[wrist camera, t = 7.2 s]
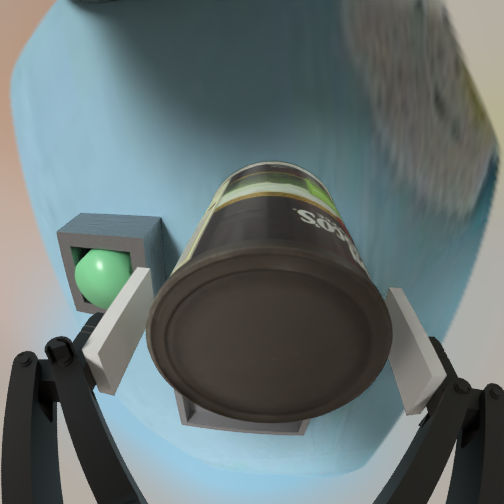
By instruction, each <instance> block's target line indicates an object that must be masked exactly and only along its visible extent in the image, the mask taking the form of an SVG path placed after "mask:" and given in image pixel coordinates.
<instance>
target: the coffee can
mask: <svg viewBox="0 0 504 504" xmlns="http://www.w3.org/2000/svg"><path fill="white" fill-rule="evenodd" d="M146 340H147V346H148V350H149V353H150V355H151V358H152V360H153V362H154V364H155V366H156V368H157V369H158V371H159V372H160V374H161V375H162V377H163V378H164V379H165V380H166V381H167V382H168V383H169V384H170V385H171V386H172V387H173V388H174V389H175V390H176V391H177V392H178V393H179V394H181V395H182V396H183V397H184V398H186V399H187V400H189V401H191V402H192V403H194V404H196V405H198V406H200V407H202V408H204V409H206V410H208V411H210V412H213V413H215V414H218V415H221V416H224V417H228V418H231V419H236V420H241V421H246V422H254V423H288V422H296V421H301V420H306V419H311V418H314V417H318V416H321V415H324V414H326V413H329V412H331V411H333V410H336V409H338V408H340V407H342V406H343V405H345V404H347V403H349V402H350V401H352V400H353V399H355V398H356V397H358V396H359V395H360V394H361V393H363V392H364V391H365V390H366V389H367V388H368V387H369V386H370V385H371V384H372V382H374V381H375V379H376V378H377V376H378V375H379V374H380V372H381V371H382V369H383V367H384V365H385V363H386V361H387V359H388V356H389V353H390V350H391V345H392V340H393V329H392V321H391V318H390V315H389V311H388V308H387V306H386V304H385V302H384V300H383V298H382V296H381V294H380V293H379V291H378V289H377V288H376V286H375V285H374V284H373V283H372V281H371V279H370V276H369V273H368V271H367V270H366V268H365V266H364V263H363V261H362V259H361V257H360V255H359V253H358V251H357V249H356V246H355V244H354V242H353V240H352V238H351V236H350V234H349V232H348V231H347V229H346V227H345V225H344V223H343V221H342V219H341V217H340V215H339V213H338V211H337V209H336V207H335V205H334V202H333V199H332V197H331V195H330V193H329V191H328V190H327V188H326V187H325V186H324V185H323V184H322V182H321V181H320V180H319V179H317V178H316V177H315V176H314V175H313V174H311V173H310V172H308V171H306V170H304V169H302V168H300V167H298V166H295V165H292V164H289V163H285V162H276V161H269V162H260V163H256V164H252V165H249V166H246V167H244V168H242V169H240V170H238V171H236V172H235V173H233V174H232V175H231V176H229V177H228V178H227V179H226V180H225V181H224V182H223V183H222V184H221V186H220V187H219V188H218V190H217V191H216V193H215V195H214V197H213V199H212V201H211V204H210V206H209V207H208V209H207V211H206V212H205V214H204V216H203V217H202V219H201V221H200V222H199V224H198V226H197V228H196V230H195V231H194V233H193V235H192V237H191V239H190V240H189V242H188V244H187V246H186V248H185V249H184V251H183V253H182V255H181V257H180V259H179V260H178V262H177V264H176V266H175V268H174V270H173V272H172V273H171V275H170V277H169V278H168V279H167V281H166V282H165V283H164V284H163V286H162V287H161V288H160V290H159V291H158V293H157V295H156V297H155V299H154V301H153V303H152V305H151V307H150V310H149V313H148V318H147V322H146Z"/></svg>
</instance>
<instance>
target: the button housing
mask: <svg viewBox="0 0 504 504" xmlns="http://www.w3.org/2000/svg"><path fill="white" fill-rule="evenodd" d="M57 237H58V242H59V246H60V251H61V255H62V259H63V263H64V267H65V271H66V275H67V279H68V282H69V286H70V290H71V293H72V296H73V300H74V303H75V306H76V310H77V311H80V312H85V313H90V314H95V313H97V312H100V313H106V311H107V310H108V309H103V308H100V307H98V306H96V305H94V304H92V303H91V302H90V301H89V300H87V299H86V298H85V297H84V295H83V294H82V293H81V291H80V290H79V288H78V286H77V283H76V280H75V269H76V266H77V264H78V263H79V262H80V260H81V259H82V258H83V257H84V256H85V255H86V254H87V253H88V252H89V251H90V250H91V249H92V248H94V249H104V250H115V251H126V252H130V257H131V264H132V270H133V273H134V271H135V270H136V268H137V267H142V268H150V271H151V280H152V288H153V295H154V299H155V297H156V295H157V293H158V291H159V290H160V288H161V287H162V286H163V284H164V283H165V282H166V278H165V268H164V257H163V245H162V232H161V217H150V216H131V215H110V214H87V213H80V214H79V215H78V216H76V217H75V218H74V219H72V220H71V221H70V222H68V223H67V224H66V225H64V226H63V227H62V228H61V229H59V230H58V231H57Z"/></svg>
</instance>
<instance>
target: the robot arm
mask: <svg viewBox="0 0 504 504" xmlns="http://www.w3.org/2000/svg"><path fill="white" fill-rule="evenodd" d="M81 1H85V2H108V1H114V0H81ZM153 301H154V295H153V288H152V280H151V271H150V268H142V267H137V268H136V270H135V271H134V273H133V274H132V275H131V277H130V278H129V280H128V281H127V282H126V284H125V285H124V287H123V288H122V290H121V291H120V292H119V294H118V295H117V297H116V298H115V300H114V301H113V303H112V304H111V305H110V307H109V308H108V310H107V311H106V313H100V312H97V313H95V314H94V315H93V316H91V317H90V318H89V319H88V321H87V322H86V324H85V326H83V328H82V329H81V332H79V334H78V335H77V337H76V338H75V340H74V341H73V343H72V341H71V340H70V339H69V338H67V337H63V336H60V337H55V338H53V339H51V340H50V341H49V342H48V343H47V344H46V346H45V353H46V355H47V357H48V359H47V360H46V359H44V360H43V359H42V360H41V359H38V358H37V356H36V355H35V353H33V352H31V351H25V352H22V353H20V354H18V355H17V356H16V357H15V359H14V361H13V365H12V370H11V376H10V381H9V387H8V394H7V401H6V409H5V417H4V427H3V441H2V462H1V482H2V483H1V485H2V504H63V497H62V491H61V482H60V472H59V459H58V443H57V402H60V403H61V407H62V410H63V414H64V417H65V421H66V424H67V427H68V430H69V433H70V436H71V439H72V442H73V445H74V448H75V451H76V453H77V456H78V459H79V461H80V464H81V466H82V469H83V471H84V474H85V476H86V479H87V481H88V483H89V485H90V488H91V490H92V492H93V494H94V497H95V499H96V501H97V503H98V504H148V503H147V501H146V499H145V498H144V496H143V494H142V493H141V491H140V489H139V488H138V486H137V484H136V482H135V481H134V479H133V477H132V475H131V473H130V471H129V469H128V468H127V466H126V464H125V462H124V460H123V458H122V456H121V454H120V452H119V450H118V448H117V446H116V443H115V441H114V439H113V437H112V435H111V433H110V431H109V428H108V426H107V424H106V422H105V419H104V417H103V414H102V412H101V410H100V407H99V405H98V402H97V399H96V397H95V394H94V392H93V389H94V387H95V385H97V387H98V390H99V391H100V392H102V393H106V394H110V395H115V393H116V390H117V388H118V386H119V384H120V382H121V379H122V377H123V375H124V373H125V371H126V368H127V366H128V364H129V362H130V360H131V358H132V356H133V353H134V351H135V349H136V347H137V345H138V343H139V341H140V339H141V337H142V335H143V333H144V331H145V329H146V322H147V318H148V313H149V310H150V307H151V305H152V303H153ZM385 304H386V306H387V308H388V311H389V315H390V318H391V321H392V329H393V340H392V345H391V350H390V353H389V356H388V360H389V362H390V365H391V368H392V371H393V374H394V377H395V380H396V383H397V386H398V389H399V392H400V395H401V399H402V402H403V405H404V408H405V412H406V415H414V414H420V413H421V412H422V411H423V409H424V408H425V407H427V410H428V413H427V415H426V416H425V417H424V419H423V420H422V421H421V422H420V424H419V426H420V428H419V429H418V431H417V433H416V435H415V437H414V439H413V441H412V442H411V444H410V446H409V448H408V450H407V451H406V453H405V455H404V456H403V458H402V460H401V461H400V463H399V465H398V466H397V468H396V470H395V471H394V473H393V475H392V476H391V478H390V479H389V481H388V482H387V484H386V485H385V487H384V488H383V490H382V491H381V493H380V494H379V495H378V497H377V498H376V500H375V501H374V502H373V504H427V502H428V500H429V498H430V497H431V495H432V493H433V491H434V489H435V487H436V485H437V482H438V481H439V479H440V477H441V474H442V472H443V470H444V468H445V466H446V463H447V461H448V459H449V457H450V454H451V452H452V449H453V447H454V444H455V442H456V439H457V443H456V451H455V458H454V464H453V470H452V476H451V481H450V487H449V491H448V496H447V500H446V504H504V390H503V389H502V388H501V387H500V386H499V385H497V384H493V383H490V384H488V385H487V386H486V387H485V389H484V390H479V389H473V388H471V385H470V384H469V383H468V382H467V381H466V380H464V379H462V378H458V376H457V374H456V372H455V370H454V368H453V366H452V364H451V362H450V360H449V359H448V358H447V355H446V353H445V352H444V349H443V347H442V345H441V343H440V342H439V341H438V340H437V339H436V338H435V337H428V336H427V334H426V332H425V330H424V328H423V326H422V325H421V323H420V321H419V319H418V317H417V315H416V313H415V312H414V310H413V308H412V306H411V304H410V303H409V301H408V299H407V297H406V296H405V294H404V292H403V290H402V289H401V288H394V287H389V290H388V293H387V296H386V299H385Z"/></svg>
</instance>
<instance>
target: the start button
mask: <svg viewBox="0 0 504 504" xmlns="http://www.w3.org/2000/svg"><path fill="white" fill-rule="evenodd" d="M132 274H133V270H132V264H131V257H130V252H126V251H115V250H104V249H94V248H92V249H91V250H90V251H89V252H88V253H87V254H86V255H85V256H84V257H83V258H82V259H81V260H80V262H79V263H78V264H77V266H76V269H75V280H76V283H77V286H78V288H79V290H80V291H81V293H82V294H83V295H84V297H85V298H86V299H87V300H89V301H90V302H91V303H92V304H94V305H96V306H98V307H100V308H103V309H108V308H109V307H110V305H111V304H112V303H113V301H114V300H115V298H116V297H117V295H118V294H119V292H120V291H121V290H122V288H123V287H124V285H125V284H126V282H127V281H128V280H129V278H130V277H131V275H132Z"/></svg>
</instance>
